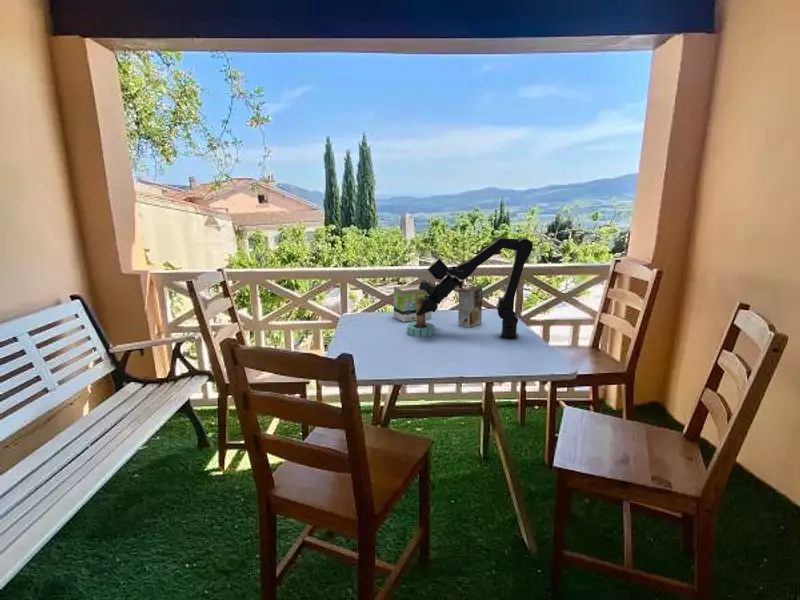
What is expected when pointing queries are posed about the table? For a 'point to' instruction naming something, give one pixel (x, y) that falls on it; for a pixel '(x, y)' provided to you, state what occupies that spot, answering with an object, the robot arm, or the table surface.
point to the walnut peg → (421, 318)
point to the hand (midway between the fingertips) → (417, 313)
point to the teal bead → (420, 330)
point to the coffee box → (470, 306)
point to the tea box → (407, 302)
